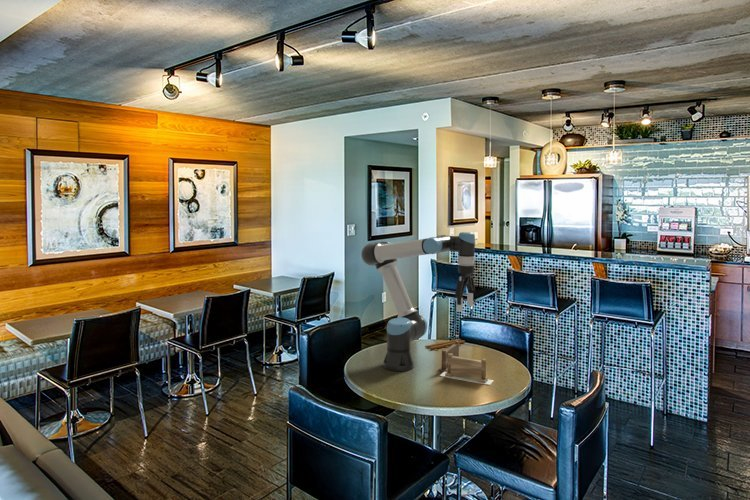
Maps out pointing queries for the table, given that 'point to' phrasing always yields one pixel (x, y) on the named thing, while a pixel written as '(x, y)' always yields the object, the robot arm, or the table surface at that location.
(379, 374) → the table surface
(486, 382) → the strip
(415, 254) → the robot arm
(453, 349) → the walnut fence panel
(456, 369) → the oak fence segment
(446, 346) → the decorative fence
